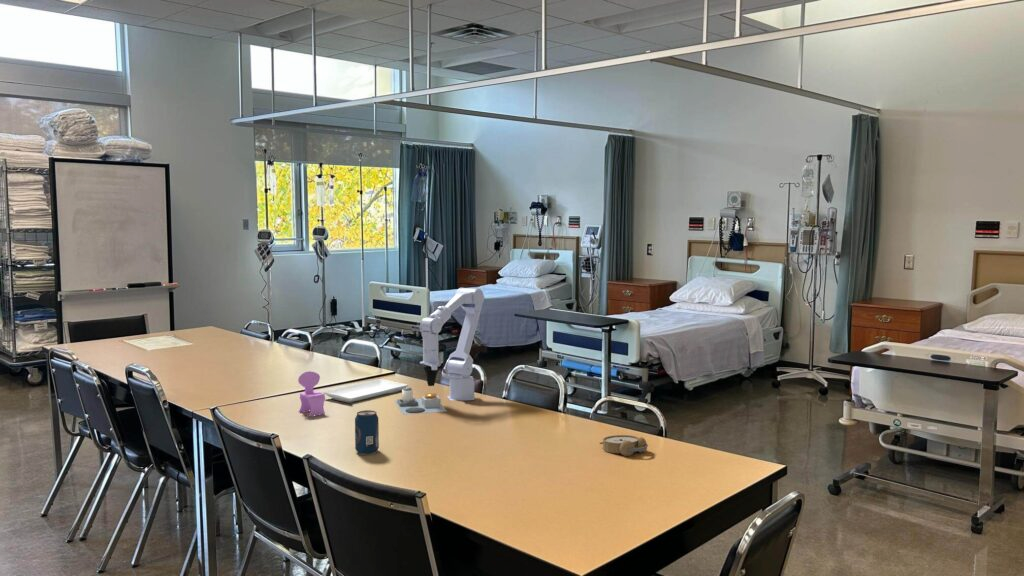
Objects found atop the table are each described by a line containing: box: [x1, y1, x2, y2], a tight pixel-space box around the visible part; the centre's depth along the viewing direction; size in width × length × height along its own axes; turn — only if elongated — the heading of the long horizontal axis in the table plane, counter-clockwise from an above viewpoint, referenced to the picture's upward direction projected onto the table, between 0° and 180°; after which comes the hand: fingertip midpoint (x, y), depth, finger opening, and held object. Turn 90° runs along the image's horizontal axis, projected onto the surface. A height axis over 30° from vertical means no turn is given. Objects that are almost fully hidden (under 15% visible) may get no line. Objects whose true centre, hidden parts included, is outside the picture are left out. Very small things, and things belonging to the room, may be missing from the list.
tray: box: [322, 378, 409, 404], centre depth 298 cm, size 17×31×4 cm, turn 143°
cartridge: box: [401, 386, 414, 403], centre depth 281 cm, size 4×4×6 cm
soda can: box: [354, 409, 380, 456], centre depth 223 cm, size 7×7×12 cm
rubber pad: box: [406, 408, 425, 414], centre depth 271 cm, size 7×7×1 cm
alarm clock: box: [599, 434, 649, 457], centre depth 225 cm, size 11×5×15 cm
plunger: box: [424, 392, 438, 399], centre depth 278 cm, size 4×4×4 cm
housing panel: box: [394, 395, 448, 415], centre depth 278 cm, size 16×22×4 cm
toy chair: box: [297, 370, 326, 417], centre depth 268 cm, size 8×9×15 cm
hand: (431, 385), depth 278 cm, fingers closed
